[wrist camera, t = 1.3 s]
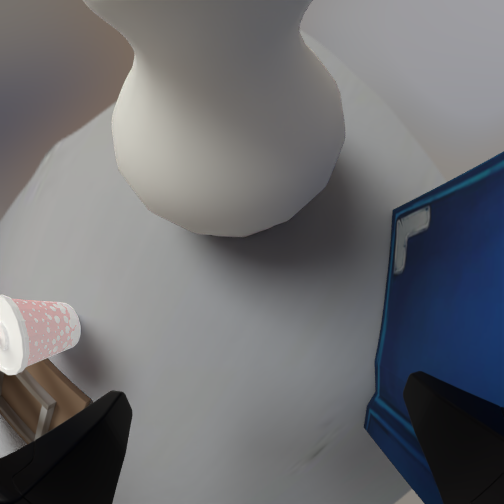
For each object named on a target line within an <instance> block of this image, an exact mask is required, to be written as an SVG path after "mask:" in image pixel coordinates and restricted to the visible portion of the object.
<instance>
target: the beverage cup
mask: <svg viewBox="0 0 504 504" xmlns="http://www.w3.org/2000/svg"><path fill="white" fill-rule="evenodd" d="M80 335H81V325H80V322H79V318H78V316H77V314H76V312H75V311H74V309H73V308H72V307H71V306H70V305H68V304H66V303H62V302H48V301H34V300H21V299H11V298H10V297H8V296H5V295H0V371H2V372H4V373H5V374H7V375H16V374H18V373H20V372H22V371H23V370H24V369H25V368H26V367H27V366H30V365H32V364H34V363H37V362H39V361H41V360H44V359H46V358H49V357H51V356H53V355H56V354H58V353H60V352H63V351H65V350H67V349H70V348H72V347H74V346H75V345H76V344H77V343H78V341H79V338H80Z"/></svg>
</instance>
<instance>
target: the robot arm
mask: <svg viewBox="0 0 504 504" xmlns="http://www.w3.org/2000/svg"><path fill="white" fill-rule="evenodd" d="M403 399H404V402H405V405H406V408H407V411H408V414H409V417H410V420H411V423H412V426H413V429H414V432H415V434H416V437H417V439H418V441H419V444H420V446H421V448H422V451H423V453H424V455H425V458H426V460H427V462H428V465H429V467H430V470H431V472H432V475H433V477H434V480H435V482H436V485H437V488H438V490H439V493H440V496H441V498H442V501H443V504H504V407H500V406H499V405H497V404H494V403H492V402H489V401H487V400H485V399H482V398H480V397H478V396H476V395H473V394H471V393H469V392H466V391H464V390H462V389H460V388H457V387H455V386H453V385H451V384H449V383H446V382H444V381H442V380H440V379H438V378H435V377H433V376H431V375H429V374H427V373H425V372H423V371H417V372H414V373H411V374H410V375H409V376H408V379H407V382H406V385H405V387H404V390H403ZM131 420H132V409H131V407H130V404H129V402H128V400H127V397H126V395H125V394H124V393H123V392H120V391H114V390H113V391H110V392H108V393H107V394H106V395H104V396H103V397H101V398H100V399H98V400H97V401H95V402H94V403H92V404H91V405H89V406H88V407H86V408H84V409H83V410H81V411H80V412H78V413H77V414H75V415H74V416H72V417H71V418H69V419H68V420H66V421H64V422H63V423H61V424H60V425H58V426H57V427H55V428H54V429H52V430H50V431H49V432H47V433H46V434H44V435H42V436H41V437H39V438H37V439H36V440H35V441H32V442H31V443H29V444H28V445H26V446H24V447H22V448H21V449H19V450H17V451H15V452H13V453H11V454H9V455H7V456H5V457H2V458H0V504H112V502H113V498H114V494H115V490H116V486H117V483H118V479H119V475H120V472H121V468H122V465H123V461H124V457H125V454H126V449H127V443H128V437H129V431H130V425H131Z"/></svg>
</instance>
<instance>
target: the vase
mask: <svg viewBox="0 0 504 504" xmlns="http://www.w3.org/2000/svg"><path fill="white" fill-rule="evenodd" d="M83 1H84V2H85V4H86V5H87V6H88V8H90V9H91V10H92V11H93V12H94V13H95V14H96V15H98V16H99V17H100V18H102V19H103V20H104V21H106V22H107V23H108V24H110V25H111V26H112V27H114V28H115V29H116V30H118V31H119V32H120V33H121V34H122V35H123V36H124V37H125V38H126V39H127V40H128V42H129V43H130V45H131V46H132V48H133V50H134V53H135V57H134V62H133V67H132V69H131V71H130V72H129V74H128V76H127V78H126V80H125V82H124V85H123V87H122V90H121V92H120V95H119V98H118V100H117V103H116V106H115V109H114V111H113V116H112V134H113V142H114V149H115V156H116V162H117V165H118V169H119V171H120V173H121V174H122V176H123V177H124V179H125V180H126V181H127V183H128V184H129V185H130V187H131V188H132V189H133V191H134V192H135V193H136V194H137V196H138V197H139V198H140V200H141V201H142V202H143V203H144V205H145V206H146V207H147V209H148V210H150V211H151V212H152V213H154V214H156V215H158V216H160V217H162V218H164V219H166V220H168V221H170V222H172V223H174V224H176V225H179V226H181V227H183V228H185V229H187V230H189V231H191V232H193V233H196V234H206V235H214V236H223V237H246V236H249V235H252V234H255V233H258V232H261V231H264V230H267V229H269V228H271V227H272V226H274V225H277V224H280V223H283V222H286V221H288V220H289V219H291V218H292V217H293V216H294V215H295V214H296V213H297V212H298V211H300V210H301V209H302V208H303V207H304V206H305V205H306V204H307V203H308V202H310V201H311V200H312V199H313V198H314V197H315V196H316V195H317V194H318V193H320V192H321V191H322V190H323V189H324V188H325V186H326V185H327V184H328V181H329V179H330V176H331V174H332V172H333V169H334V167H335V164H336V161H337V159H338V156H339V154H340V151H341V149H342V146H343V143H344V140H345V123H344V115H343V108H342V102H341V95H340V91H339V89H338V86H337V84H336V81H335V80H334V79H333V77H332V76H331V74H330V73H329V72H328V70H327V69H326V67H325V66H324V65H323V63H322V62H321V61H320V59H319V58H318V57H317V56H316V54H315V53H314V52H313V51H312V50H311V49H310V48H309V47H308V46H307V45H306V44H305V43H304V41H303V38H302V36H301V34H300V32H299V29H300V23H301V20H302V17H303V15H304V13H305V11H306V10H307V8H308V6H309V5H310V3H311V2H312V1H313V0H83Z"/></svg>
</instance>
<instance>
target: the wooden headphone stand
mask: <svg viewBox="0 0 504 504" xmlns="http://www.w3.org/2000/svg"><path fill="white" fill-rule="evenodd" d="M90 401H91V399H90V398H89V397H88V396H87V395H85V394H84V393H83V392H82V391H81V390H80V389H79V388H77V387H76V386H75V385H74V384H73V383H72V382H71V381H70V380H69V379H68V378H67V377H66V376H64V375H63V374H62V373H61V372H60V371H59V370H58V369H57V368H56V367H55V366H54V365H53V364H52V363H51V362H50V361H49V359H48V358H46V359H44V360H41V361H39V362H37V363H34V364H32V365H30V366H27V367H26V368H25V369H24V370H23V371H22V372H20V373H18V374H16V375H7V374H5V373H4V372H2V371H0V413H1V415H2V416H3V417H4V418H5V420H6V421H7V422H8V423H9V424H10V426H11V427H12V428H13V429H14V430H15V431H16V432H17V434H18V435H19V436H20V437H21V438H22V439H23V440H24V441H25V442H26V443H27V444H29V443H31V442H32V441H35V440H36V439H37V438H39V437H41V436H42V435H44V434H46V433H47V432H49V431H50V430H52V429H54V428H55V427H57V426H58V425H60V424H61V423H63V422H64V421H66V420H68V419H69V418H71V417H72V416H74V415H75V414H77V413H78V412H80V411H81V410H83V409H84V408H86V407H88V406H89V403H90Z"/></svg>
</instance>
